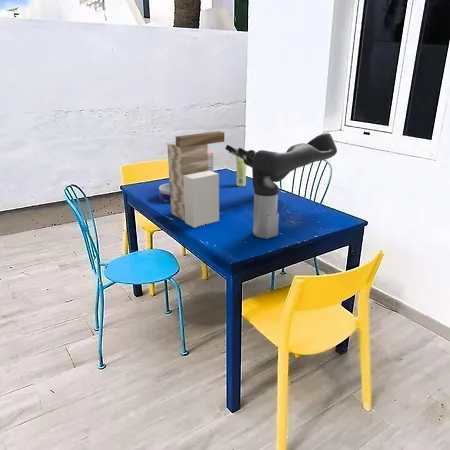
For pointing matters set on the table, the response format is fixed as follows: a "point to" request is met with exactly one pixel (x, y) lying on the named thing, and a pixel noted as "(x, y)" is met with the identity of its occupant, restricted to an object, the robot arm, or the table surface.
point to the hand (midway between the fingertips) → (232, 148)
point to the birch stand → (184, 171)
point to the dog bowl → (165, 192)
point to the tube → (240, 171)
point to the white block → (201, 198)
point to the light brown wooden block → (199, 139)
